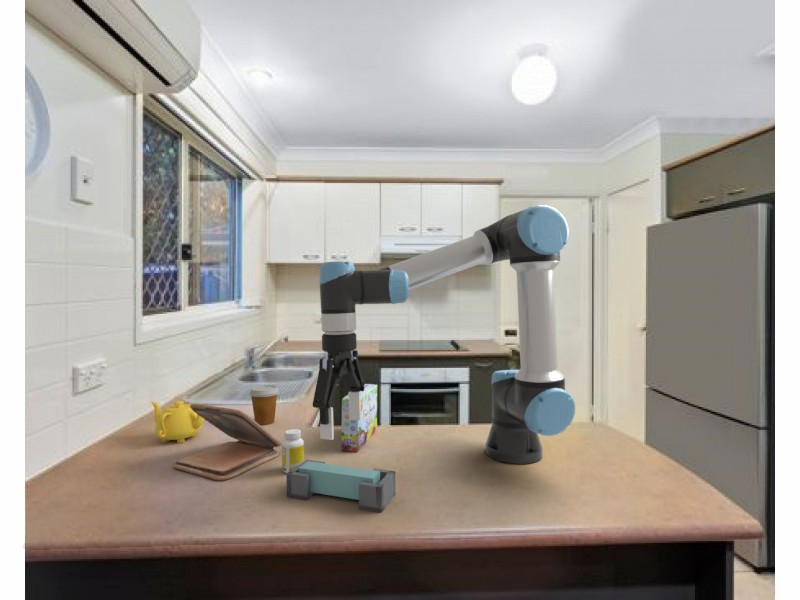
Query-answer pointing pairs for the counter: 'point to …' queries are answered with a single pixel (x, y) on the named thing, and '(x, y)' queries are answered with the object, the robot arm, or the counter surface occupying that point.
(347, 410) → the snack box
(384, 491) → the end cap near
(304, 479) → the end cap far
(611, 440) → the counter surface
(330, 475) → the teal rectangular bar
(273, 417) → the disposable coffee cup
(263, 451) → the case
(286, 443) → the supplement bottle
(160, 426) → the teapot
